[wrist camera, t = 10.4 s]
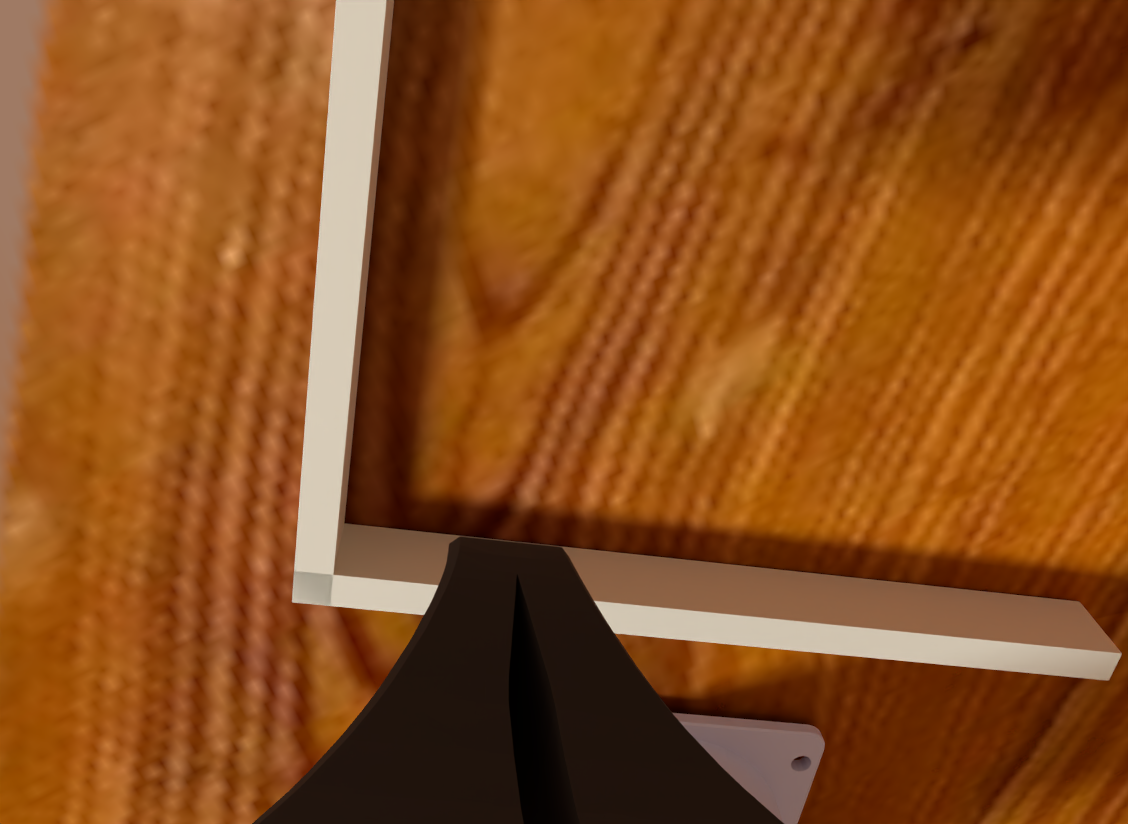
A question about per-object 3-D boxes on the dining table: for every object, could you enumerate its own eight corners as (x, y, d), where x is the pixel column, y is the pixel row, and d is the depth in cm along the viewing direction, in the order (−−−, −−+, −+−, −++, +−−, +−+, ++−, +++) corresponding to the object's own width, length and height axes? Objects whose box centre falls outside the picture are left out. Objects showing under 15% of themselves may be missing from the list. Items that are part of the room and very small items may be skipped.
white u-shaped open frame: (1067, 627, 27) (1108, 680, 25) (305, 549, 25) (292, 602, 23) (1403, -106, 20) (1495, -103, 18) (374, -323, 17) (361, -345, 16)
